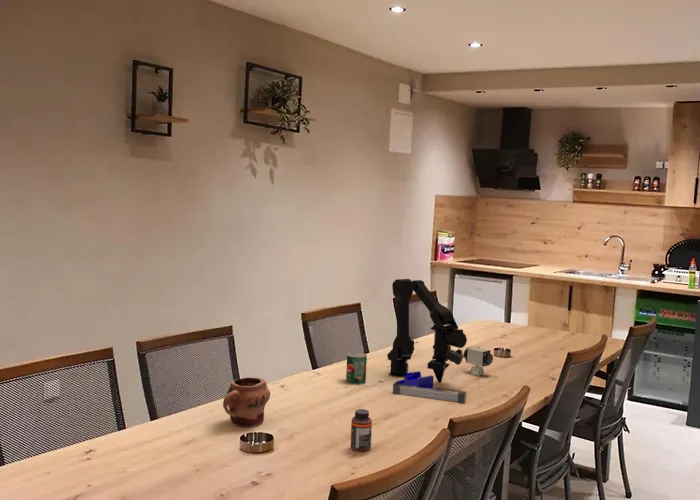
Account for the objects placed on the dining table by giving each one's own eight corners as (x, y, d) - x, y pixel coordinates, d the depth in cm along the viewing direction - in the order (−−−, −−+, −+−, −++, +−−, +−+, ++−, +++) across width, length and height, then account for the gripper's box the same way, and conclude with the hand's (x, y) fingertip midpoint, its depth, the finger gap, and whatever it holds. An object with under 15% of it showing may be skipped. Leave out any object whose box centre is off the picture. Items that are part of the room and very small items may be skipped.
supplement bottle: (349, 445, 205) (351, 407, 204) (369, 445, 205) (371, 407, 204) (351, 452, 199) (352, 414, 198) (371, 452, 199) (373, 414, 198)
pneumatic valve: (485, 378, 286) (487, 349, 285) (462, 372, 294) (463, 344, 293) (493, 376, 290) (494, 348, 289) (469, 370, 298) (471, 343, 297)
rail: (392, 393, 259) (393, 384, 259) (395, 391, 262) (395, 382, 262) (464, 403, 250) (464, 393, 250) (465, 401, 253) (466, 391, 253)
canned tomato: (370, 382, 274) (371, 354, 273) (356, 385, 268) (357, 357, 267) (355, 378, 279) (356, 351, 278) (341, 381, 273) (342, 354, 272)
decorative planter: (242, 437, 208) (243, 391, 206) (209, 429, 213) (210, 385, 212) (278, 419, 226) (279, 377, 224) (247, 412, 231) (248, 371, 230)
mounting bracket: (441, 394, 262) (442, 379, 261) (427, 397, 258) (428, 381, 257) (409, 383, 276) (410, 368, 276) (395, 385, 272) (396, 370, 271)
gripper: (457, 350, 256) (455, 391, 257) (467, 340, 273) (464, 379, 274) (428, 346, 259) (426, 387, 261) (439, 337, 277) (437, 376, 278)
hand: (439, 382), depth 268 cm, fingers closed
